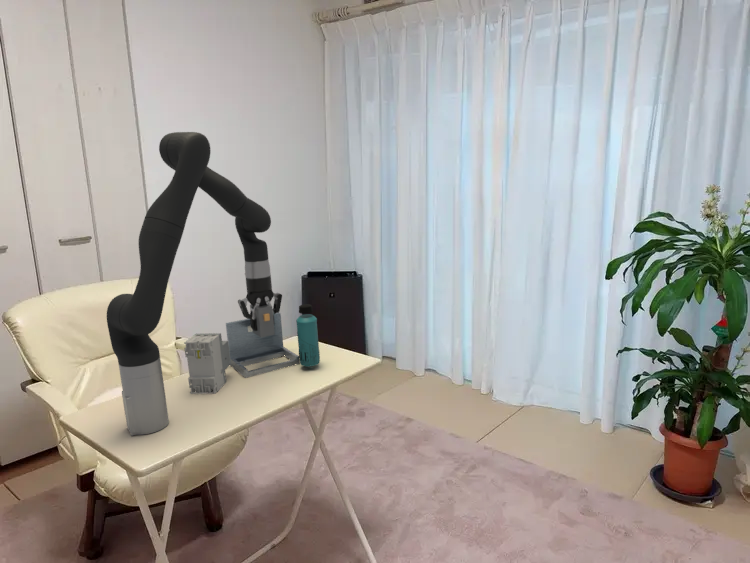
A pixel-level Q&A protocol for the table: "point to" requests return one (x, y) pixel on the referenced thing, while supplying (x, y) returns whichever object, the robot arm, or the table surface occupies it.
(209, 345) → the circuit breaker
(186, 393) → the table surface
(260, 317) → the block
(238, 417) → the table surface
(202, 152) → the robot arm
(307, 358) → the beverage bottle
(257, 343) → the grey frame with backplate
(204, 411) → the table surface
